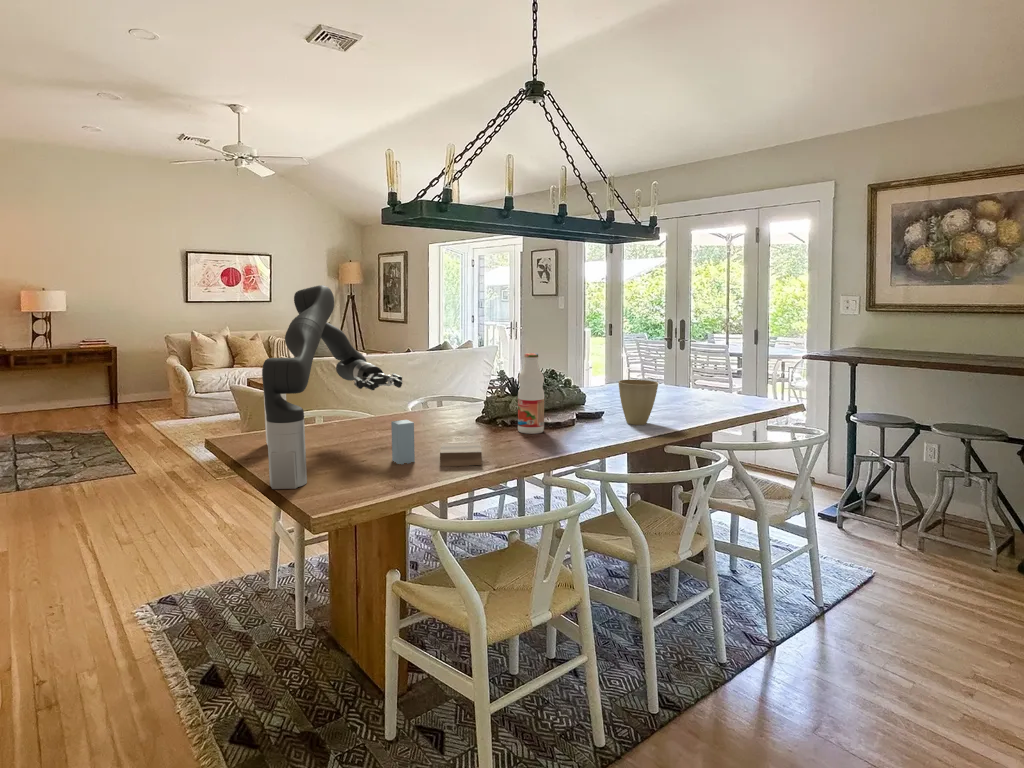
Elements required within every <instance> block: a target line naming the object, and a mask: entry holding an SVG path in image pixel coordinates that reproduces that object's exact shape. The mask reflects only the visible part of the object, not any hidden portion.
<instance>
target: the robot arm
mask: <svg viewBox="0 0 1024 768" xmlns="http://www.w3.org/2000/svg"><path fill="white" fill-rule="evenodd" d="M333 293H334V292H332V289H330V288H329V286H327V285H316V286H310V287H307V288H303V289H299V290H297V291H295V293H294V296H293V301H294V307H295V309H296V311H297V313H298V315H296V316H295V317H294V318H293V319H292V320H291V322H290V324H289V325H288V328H287V331H286V333H285V335H284V342H285V345H286V348H287V349H288V350H289V352H290V353H291V354H292V356H293V357H268V358H266V359H265V360H264V362H263V365H262V369H261V377H262V387H263V389H264V390H263V389H262V390H263V399H264V398H265V409H264V411H265V410H266V419H267V438H268V445H267V452H268V453H267V454H268V474H269V475H268V476H269V486H270V487H271V490H283V489H284V490H287V489H289V490H290V489H291V490H292V489H293V490H294V489H297V488H298V487H299V488H300V487H303V486H305V485H306V484H307V483H308V477H307V472H308V471H307V456H306V455H307V454H306V453H307V452H306V430H305V411H304V409H303V407H301V406H300V405H297V404H294V403H292V402H289V401H287V399H286V400H284V399H283V398H282V397H281V394H286V395H288V394H290V395H292V394H293V395H294V394H296V395H297V394H300V393H301V394H302V393H303V392H304V391H305V390H306V389H307V387H308V383H309V380H310V375H311V371H312V366H313V361H314V358H315V355H316V352H317V350H318V346H319V345H320V342H321V340H322V342H323V343H324V344H325V346H326V347H327V349H328V350H329V352H330V353H331V356H333V357H334V359H335V360H337V361H339V362H337V364H336V367H335V370H336V374H337V375H338V376H339V377H341V379H344V380H346V381H351V382H352V381H353V382H354V384H353V385H354V386H355V387H356V388H358V389H360V390H361V389H363V388H365V390H366V389H369V390H371V391H375V390H376V389H378V388H379V387H382V386H383V387H391V386H395V387H396V388H402V385H403V376H402V375H399V374H397V373H394V372H392V373H391V374H385V373H384V372H383V370H382V369H381V368H380V367H378V366H377V365H375V364H374V363H370V362H367V359H366V357H365V356H364V355H363V354H362V353H361V352H359V351H358V350H357V349H355V348H354V346H353V345H352V343H351V342H350V340H349V338H348V336H347V335H346V334H345V332H343V331H342V330H341V329H340V328H339V327H337V326H335V325H334V324H332V323H329V322H328V320H330V317H331V316H332V314H333V312H334V309H335V296H334V294H333Z"/></svg>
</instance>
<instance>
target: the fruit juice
mask: <svg viewBox="0 0 1024 768" xmlns="http://www.w3.org/2000/svg"><path fill="white" fill-rule="evenodd" d="M523 357H524V361H525V362H524V365H523V368H522V370H521V371H520V373H519V375H518V379H517V380H518V385H519V389H518V391H517V392H518V393H517V430H518V432H519V433H522V434H527V435H535V434H536V435H537V434H541V433H543V432H544V430H545V390H544V382H545V377H544V374H543V372H542V371H541V370H540V367H539V363H538V362H539V361H538V360H539V354H538V353H534V352H533V353H531V352H530V353H529V352H528V353H524V355H523Z"/></svg>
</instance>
